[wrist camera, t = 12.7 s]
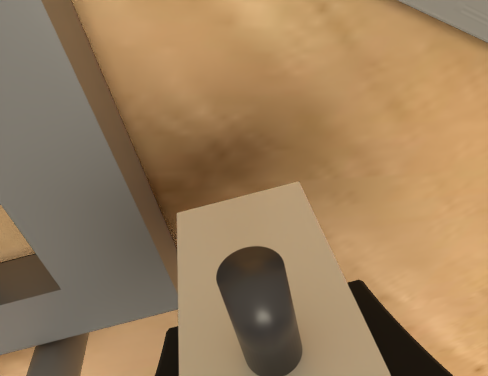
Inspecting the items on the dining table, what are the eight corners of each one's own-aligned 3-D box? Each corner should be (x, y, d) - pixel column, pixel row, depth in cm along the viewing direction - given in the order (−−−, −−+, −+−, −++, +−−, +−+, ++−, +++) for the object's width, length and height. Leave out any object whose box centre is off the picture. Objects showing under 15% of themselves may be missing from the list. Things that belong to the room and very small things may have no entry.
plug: (288, 112, 11) (421, 342, 5) (312, 267, 15) (408, 508, 9) (151, 148, 11) (126, 419, 5) (209, 294, 15) (234, 554, 9)
